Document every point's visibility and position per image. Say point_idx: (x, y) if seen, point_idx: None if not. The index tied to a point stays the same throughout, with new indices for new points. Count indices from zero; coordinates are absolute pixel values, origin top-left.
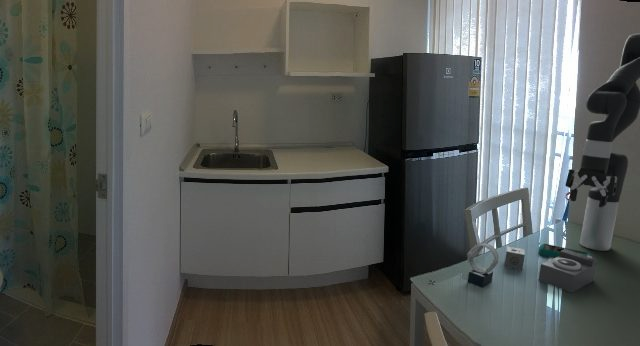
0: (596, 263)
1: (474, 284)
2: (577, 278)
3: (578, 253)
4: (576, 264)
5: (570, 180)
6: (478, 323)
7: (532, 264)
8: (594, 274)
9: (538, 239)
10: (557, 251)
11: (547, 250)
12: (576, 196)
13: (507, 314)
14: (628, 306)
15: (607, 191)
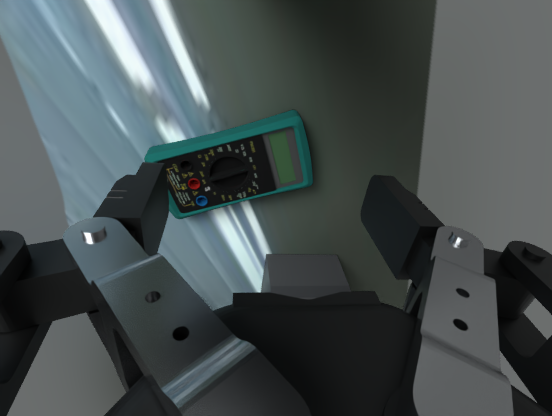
0: (349, 288)
1: None
2: None
3: (308, 298)
4: None
5: (17, 391)
6: None
7: (207, 275)
8: (341, 266)
9: (51, 28)
10: (219, 197)
11: (195, 214)
12: (157, 181)
13: None
14: (398, 299)
15: (478, 265)
